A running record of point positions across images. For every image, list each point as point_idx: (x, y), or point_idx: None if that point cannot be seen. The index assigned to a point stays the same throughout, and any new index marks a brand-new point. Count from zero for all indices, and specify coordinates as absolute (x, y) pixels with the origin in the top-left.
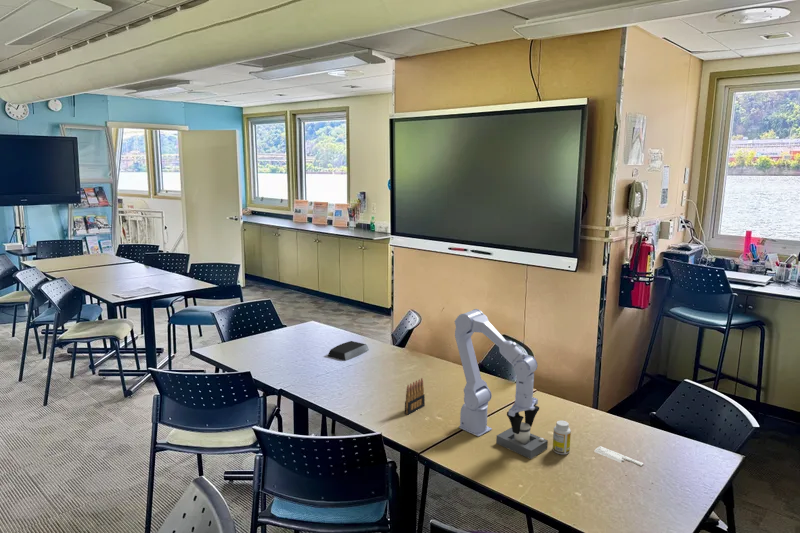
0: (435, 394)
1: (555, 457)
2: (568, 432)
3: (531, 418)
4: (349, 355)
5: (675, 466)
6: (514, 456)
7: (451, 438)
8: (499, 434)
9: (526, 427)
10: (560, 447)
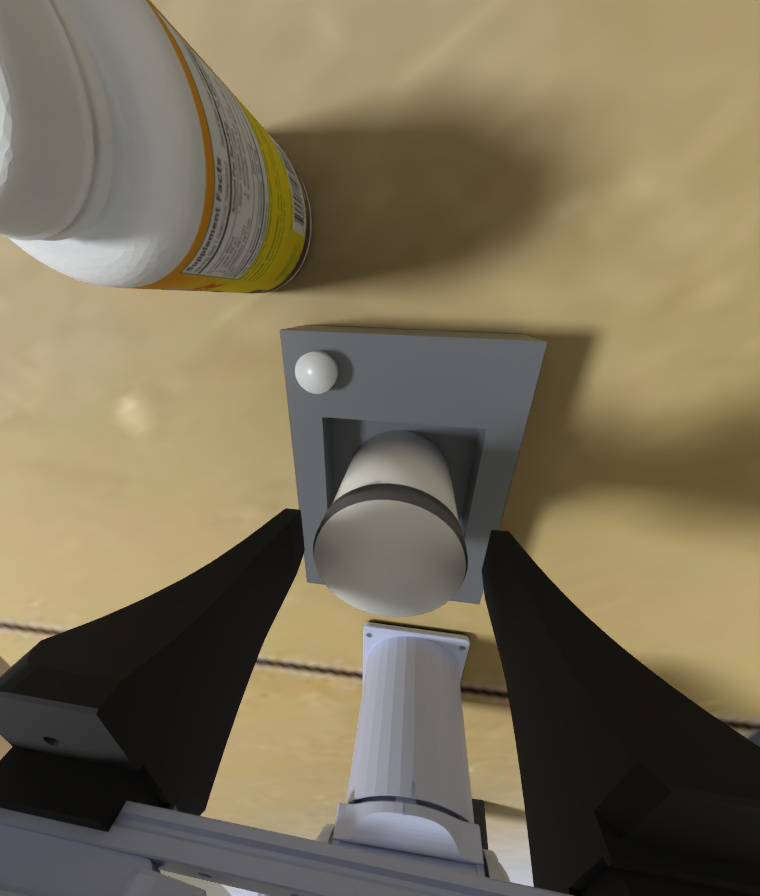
0: (304, 785)
1: (370, 195)
2: None
3: (256, 573)
4: None
5: None
6: (550, 434)
7: None
8: (455, 598)
9: (393, 528)
10: (280, 160)
